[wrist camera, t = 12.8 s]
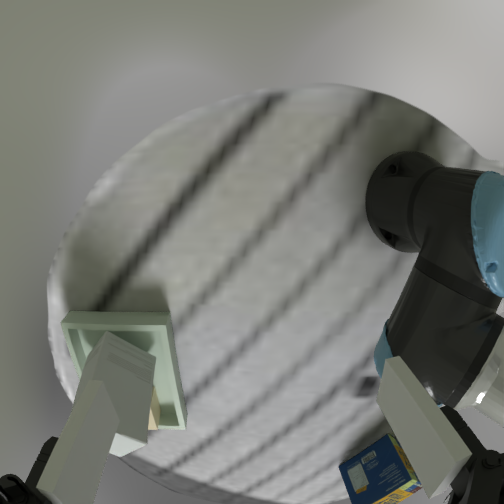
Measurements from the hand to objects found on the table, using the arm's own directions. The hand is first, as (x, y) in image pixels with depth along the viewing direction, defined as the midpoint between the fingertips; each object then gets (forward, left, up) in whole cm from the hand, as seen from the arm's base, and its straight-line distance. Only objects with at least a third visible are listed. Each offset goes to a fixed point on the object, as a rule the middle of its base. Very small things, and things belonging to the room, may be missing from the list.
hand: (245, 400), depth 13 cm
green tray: (+18, +22, -31) cm, 42 cm away
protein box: (-33, +57, -31) cm, 73 cm away
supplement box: (+18, +18, -28) cm, 38 cm away
